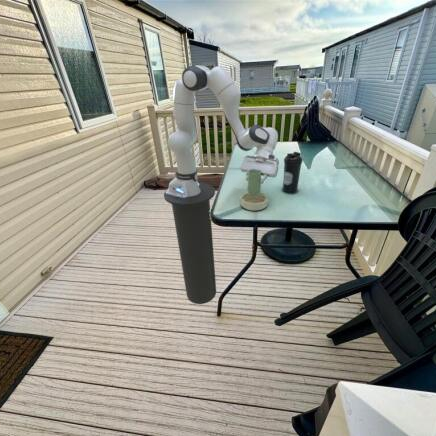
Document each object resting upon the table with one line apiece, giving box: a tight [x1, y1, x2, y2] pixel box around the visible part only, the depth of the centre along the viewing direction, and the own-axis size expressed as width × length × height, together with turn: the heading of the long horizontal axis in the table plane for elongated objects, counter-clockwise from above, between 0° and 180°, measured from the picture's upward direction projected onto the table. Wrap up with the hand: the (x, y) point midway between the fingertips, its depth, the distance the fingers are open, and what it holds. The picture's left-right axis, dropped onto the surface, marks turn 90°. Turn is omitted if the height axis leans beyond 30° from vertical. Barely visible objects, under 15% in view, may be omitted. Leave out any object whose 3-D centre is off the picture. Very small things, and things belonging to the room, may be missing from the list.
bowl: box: [240, 192, 268, 212], centre depth 133 cm, size 14×14×4 cm
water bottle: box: [282, 151, 304, 195], centre depth 143 cm, size 10×10×23 cm
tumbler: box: [247, 169, 262, 195], centre depth 127 cm, size 7×7×12 cm
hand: (254, 181), depth 126 cm, fingers closed on tumbler, 6 cm apart
